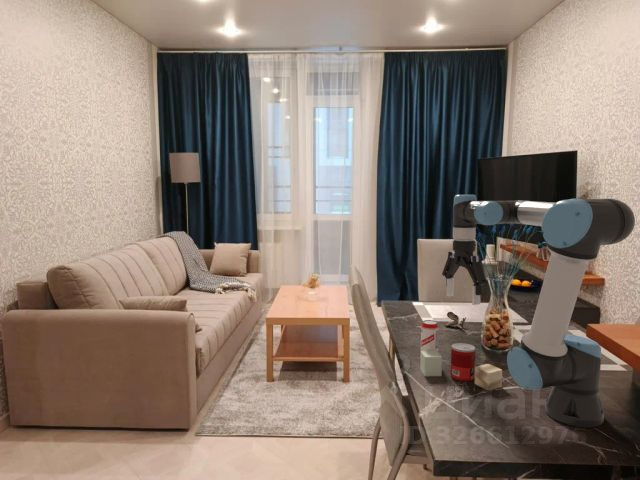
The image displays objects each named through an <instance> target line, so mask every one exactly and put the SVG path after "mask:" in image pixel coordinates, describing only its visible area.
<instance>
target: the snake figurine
mask: <svg viewBox="0 0 640 480" xmlns="http://www.w3.org/2000/svg"><path fill="white" fill-rule="evenodd" d="M446 316H447V318H448V319H450V321H449V322H447V323H445V324H444V325H443V326H444V327H449V326H457V325H459V326H460V327H461V328H462V329H464V326H465V325H464V324H465V321H466V319H467V316H465V317H463V318H462V317H459V316H458V315H457V314H455V313H454V312H453V311H447V314H446ZM451 320H452V321H451Z"/></svg>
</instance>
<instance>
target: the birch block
mask: <svg viewBox="0 0 640 480" xmlns="http://www.w3.org/2000/svg"><path fill="white" fill-rule="evenodd" d="M474 385H476V386H477V387H480V388H482V389H484V390H486V391H488V392H489V391H492V390H495V389H499V388H502V385H503V369H501V368H499V367H497V366H494V365H492V364H490V363H485V364H481V365H478V366H475V374H474Z"/></svg>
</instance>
